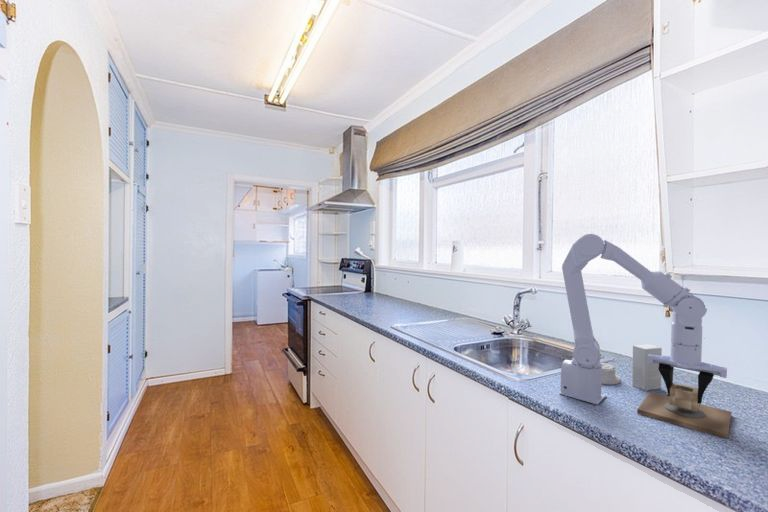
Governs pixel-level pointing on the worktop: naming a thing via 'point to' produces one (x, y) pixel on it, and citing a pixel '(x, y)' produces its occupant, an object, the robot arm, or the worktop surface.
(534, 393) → the worktop surface
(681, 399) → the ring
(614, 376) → the mechanical component
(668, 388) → the robot arm
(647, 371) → the skincare box
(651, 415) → the post board
